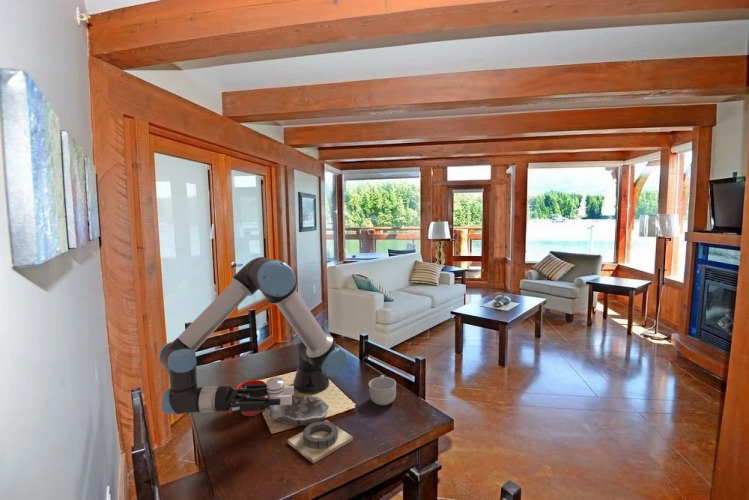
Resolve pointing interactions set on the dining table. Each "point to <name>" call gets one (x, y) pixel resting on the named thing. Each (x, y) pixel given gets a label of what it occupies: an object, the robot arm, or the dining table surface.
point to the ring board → (321, 452)
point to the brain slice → (304, 411)
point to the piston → (275, 389)
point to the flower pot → (251, 382)
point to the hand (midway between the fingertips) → (292, 394)
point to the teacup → (382, 390)
